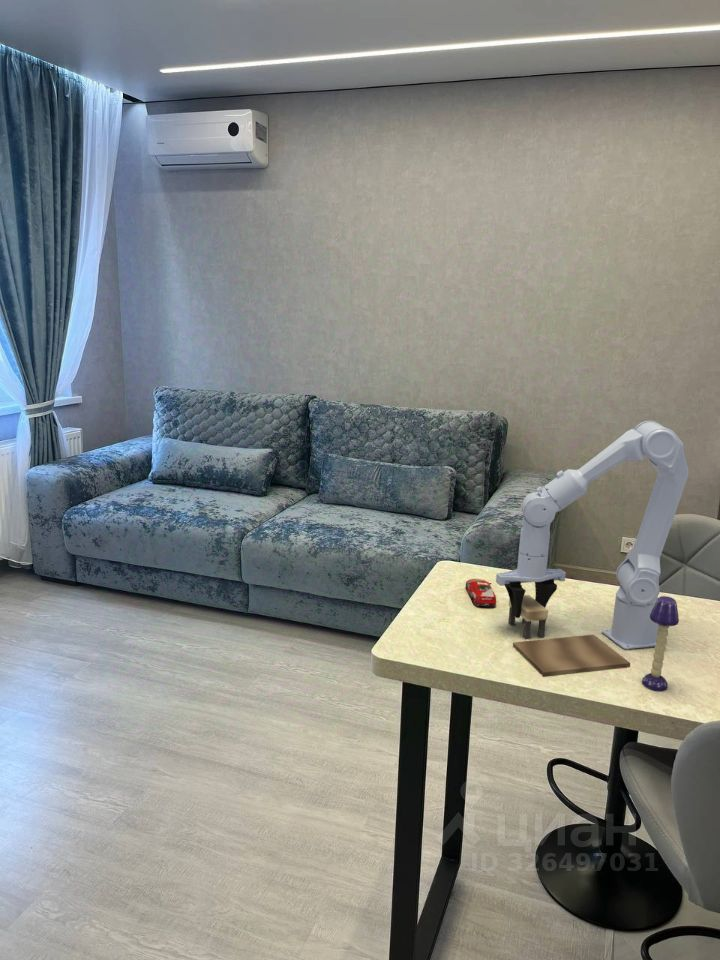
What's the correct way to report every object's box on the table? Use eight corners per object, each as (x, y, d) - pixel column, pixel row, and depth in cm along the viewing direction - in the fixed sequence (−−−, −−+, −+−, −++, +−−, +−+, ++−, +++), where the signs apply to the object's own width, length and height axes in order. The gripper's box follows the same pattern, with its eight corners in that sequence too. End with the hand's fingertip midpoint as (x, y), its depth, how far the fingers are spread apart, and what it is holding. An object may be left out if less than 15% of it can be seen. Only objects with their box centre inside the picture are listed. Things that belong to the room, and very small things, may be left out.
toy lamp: (673, 692, 123) (687, 604, 119) (647, 693, 123) (660, 604, 119) (660, 678, 128) (672, 593, 124) (635, 679, 128) (647, 593, 124)
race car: (463, 586, 169) (464, 571, 168) (486, 587, 169) (487, 571, 168) (473, 609, 156) (474, 592, 155) (497, 610, 156) (499, 593, 155)
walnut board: (593, 638, 143) (593, 634, 143) (629, 666, 132) (630, 662, 132) (512, 646, 139) (513, 642, 138) (543, 676, 127) (543, 672, 127)
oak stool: (526, 621, 150) (528, 594, 149) (545, 637, 143) (548, 610, 141) (507, 622, 149) (509, 596, 148) (525, 639, 142) (527, 612, 140)
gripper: (555, 543, 147) (549, 604, 151) (491, 547, 144) (486, 609, 147) (573, 555, 141) (566, 618, 144) (507, 559, 137) (501, 624, 140)
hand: (527, 615), depth 145 cm, fingers closed on oak stool, 4 cm apart
